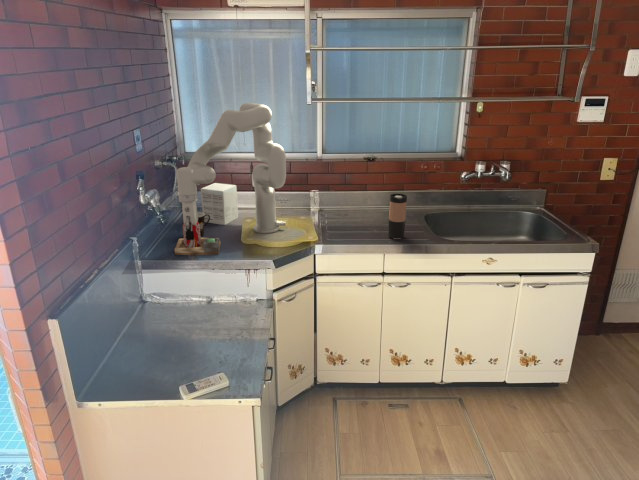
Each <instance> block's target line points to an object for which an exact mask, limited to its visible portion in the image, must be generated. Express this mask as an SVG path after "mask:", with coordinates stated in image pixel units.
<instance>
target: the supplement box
mask: <svg viewBox="0 0 639 480" xmlns="http://www.w3.org/2000/svg"><path fill="white" fill-rule="evenodd" d="M237 187H238V186H237V185H236V184H230V183H219V182H214V183H212V184H211V183H210V184H209V185H206V186H204V187H202V188H200V196H201V198H200V199H201V210H202V213H204V214H205V215H206V214H208V215H209V216H210V220H209V222H208V223H210V224H215V225H216V224H217V225H223V226H225V225H228V224H229V223H231V222H233V221H235V220H237V219H238V218H239V208H238V205H239V204H238V194H237V193H238V189H237ZM208 219H209V217H208V216H205V221H204V223H207V221H208ZM208 223H207V224H208Z"/></svg>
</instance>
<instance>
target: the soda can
mask: <svg viewBox="0 0 639 480" xmlns="http://www.w3.org/2000/svg"><path fill="white" fill-rule="evenodd" d="M189 224H191V223H189ZM190 227H191V226H190ZM185 231H186V226H185V225H184V222H183V224H182V233H183V238H184V244H185V247H186V248H190V247H199V246H201V238H202V237H201V235H200V225H199V223H198V220H197V224H196V225H193V232H194V240H186V232H185Z"/></svg>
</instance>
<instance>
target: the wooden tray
mask: <svg viewBox="0 0 639 480" xmlns="http://www.w3.org/2000/svg"><path fill="white" fill-rule="evenodd" d="M210 238H211V237H201V246H199V247H190V248H186V247H185V244H184V237H183V238H178V240H177V243H176V245H175V248H174V256H175V255H188V256H204V255H205V256H209V255H210V256H211V255H219V254H220V250H221V247H222V246H221V244H222V241H221V240H220V238H219V237H214V239H215V242H207V240H208V239H210Z"/></svg>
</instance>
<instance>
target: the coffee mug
mask: <svg viewBox="0 0 639 480" xmlns="http://www.w3.org/2000/svg"><path fill="white" fill-rule="evenodd" d="M197 213H198V223H199V225H200V235H201V238H203V237H204V235H205V227H206V226H207V224H208V222H209V220H210V216H209V215H208V214H206V215H205V214H204V213H203V212H201V211H197ZM205 216H208V217H209V219H208V221H207V222H204V221H205Z"/></svg>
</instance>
